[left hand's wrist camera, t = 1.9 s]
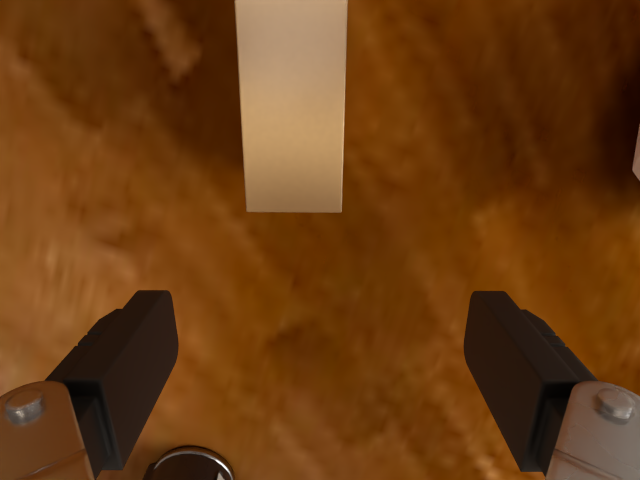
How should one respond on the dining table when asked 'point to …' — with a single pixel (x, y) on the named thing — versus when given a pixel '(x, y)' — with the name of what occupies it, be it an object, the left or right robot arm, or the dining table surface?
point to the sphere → (637, 157)
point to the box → (292, 103)
